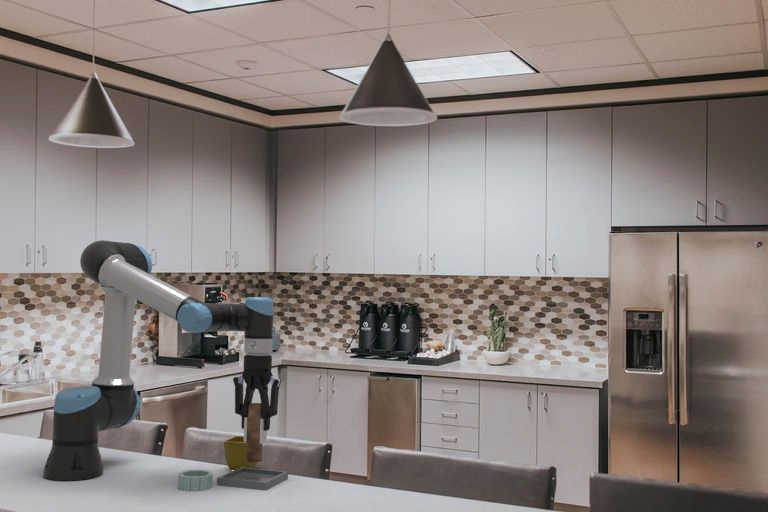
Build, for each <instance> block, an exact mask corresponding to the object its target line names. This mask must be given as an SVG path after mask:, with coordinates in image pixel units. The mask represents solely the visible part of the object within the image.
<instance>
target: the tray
mask: <svg viewBox="0 0 768 512" xmlns="http://www.w3.org/2000/svg"><path fill="white" fill-rule="evenodd" d="M288 479H289V472H288V471H284V470H275V469H274V470H273V469H263V468H256V467H255V468H245V467H241V468H239V469H236V470H234V471H229V472H227V473H225V474H223V475H220V476H218V477H216V486H220V487H229V488H237V489H238V488H239V489H248V490H249V489H250V490H257V491H268V490H270V489H272V488H274V487H275V486H277V485H279V484H281V483H283V482H285V481H287V480H288Z"/></svg>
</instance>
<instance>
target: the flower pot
mask: <svg viewBox="0 0 768 512" xmlns="http://www.w3.org/2000/svg"><path fill="white" fill-rule="evenodd" d="M223 444H224V445H223V446H224V456H225V461H226V464H227V466H228V469H230V471H231V470H236V469H239V468H241V467H245V468H255V469H256V466H257V464H258V462H248V461H247V442H244V435H243V436H241V435H234V436H233V437H231V438H228V439H225V440H224V441H223Z"/></svg>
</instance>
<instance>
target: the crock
mask: <svg viewBox="0 0 768 512" xmlns="http://www.w3.org/2000/svg"><path fill="white" fill-rule="evenodd" d="M213 476H214V475H213V472H212V471H210V470H203V469H189V470H184V471H180V472H179V473H178V482H177V489H178V490H180V491H183V492H184V491H185V492H202V491H208V490H211V489H212V488H213Z"/></svg>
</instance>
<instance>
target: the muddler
mask: <svg viewBox="0 0 768 512" xmlns="http://www.w3.org/2000/svg"><path fill="white" fill-rule="evenodd" d="M262 417H263V412H262V406H261V402H252V403H250V404H249V412H248V441H247V461H248V462H257V463H259V462H262V461H263V443H262V444H261V443H260V419H261V418H262Z"/></svg>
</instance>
